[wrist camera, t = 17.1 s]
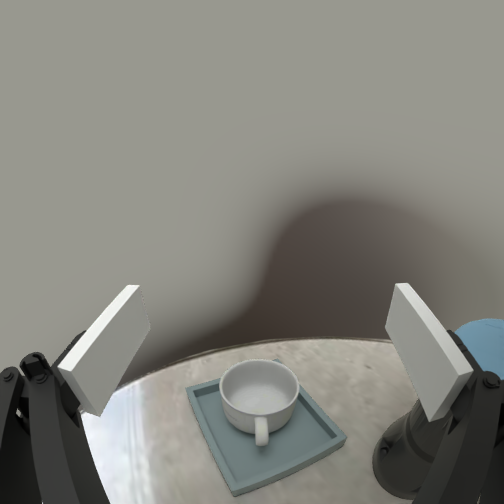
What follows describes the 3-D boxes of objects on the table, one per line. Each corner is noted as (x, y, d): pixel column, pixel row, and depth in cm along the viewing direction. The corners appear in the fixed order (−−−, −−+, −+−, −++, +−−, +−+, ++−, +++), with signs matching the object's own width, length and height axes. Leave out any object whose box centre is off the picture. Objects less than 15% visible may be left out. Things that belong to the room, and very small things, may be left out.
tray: (277, 369, 47) (277, 358, 46) (342, 446, 30) (347, 436, 29) (188, 398, 40) (185, 388, 39) (234, 496, 23) (231, 491, 22)
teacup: (233, 386, 42) (229, 353, 39) (297, 391, 40) (301, 358, 37) (212, 454, 29) (202, 427, 26) (291, 463, 28) (296, 438, 25)
